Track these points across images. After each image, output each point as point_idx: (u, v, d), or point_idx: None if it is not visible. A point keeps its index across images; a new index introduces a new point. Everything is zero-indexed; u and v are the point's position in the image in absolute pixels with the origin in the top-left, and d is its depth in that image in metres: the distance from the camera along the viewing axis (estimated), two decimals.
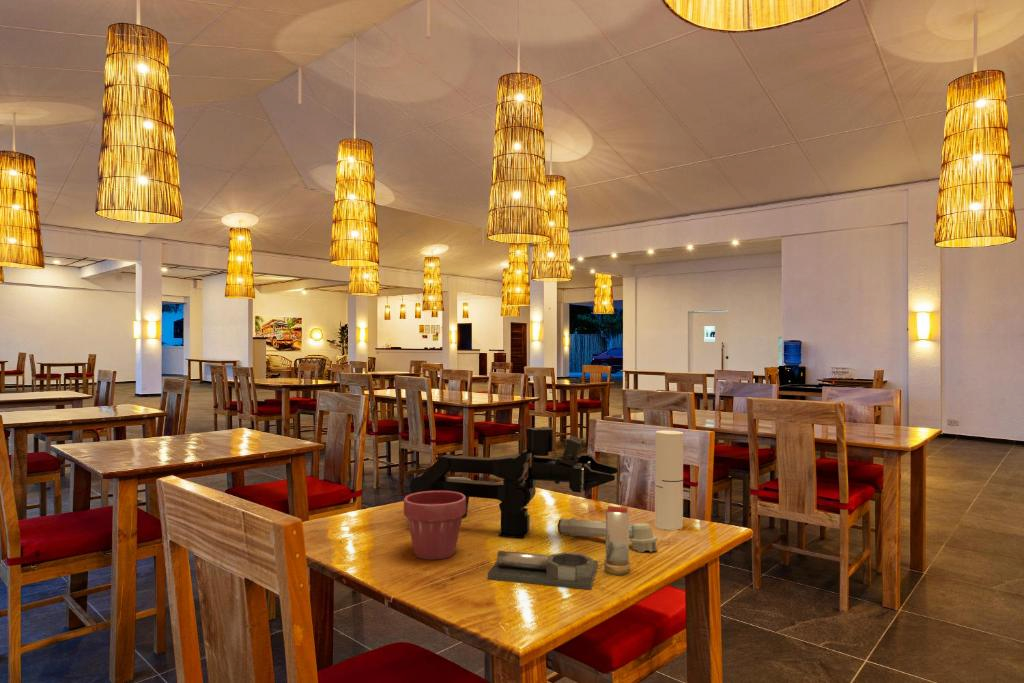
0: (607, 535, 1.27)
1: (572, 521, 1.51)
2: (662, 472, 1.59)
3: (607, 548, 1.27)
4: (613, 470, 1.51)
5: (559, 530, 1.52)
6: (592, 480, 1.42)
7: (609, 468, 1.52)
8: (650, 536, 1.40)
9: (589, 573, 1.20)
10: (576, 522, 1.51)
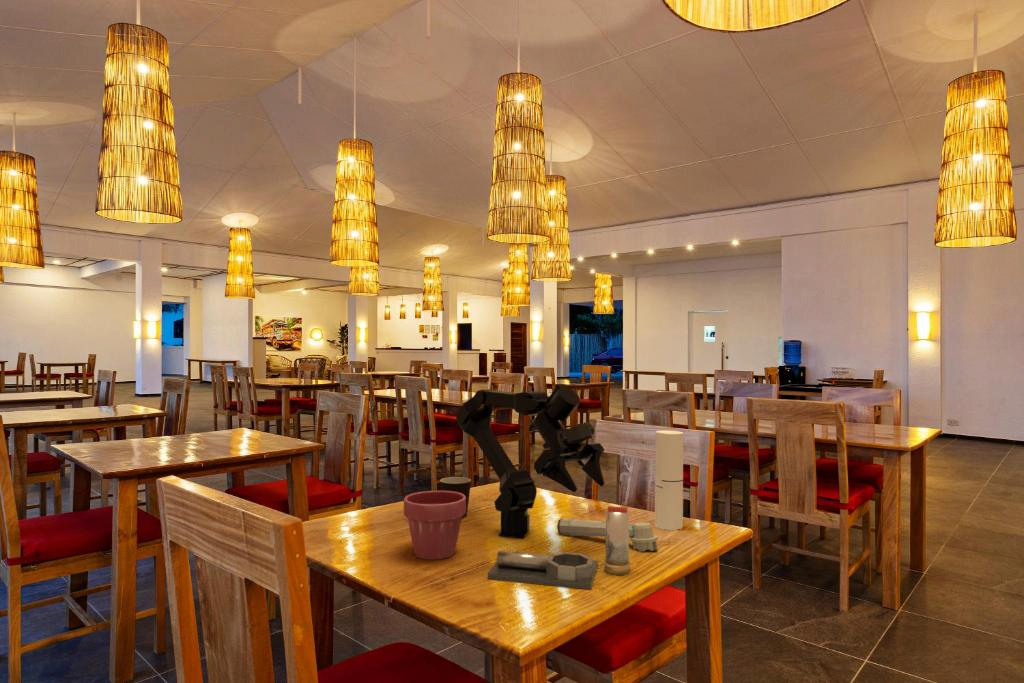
0: (607, 535, 1.27)
1: (572, 521, 1.51)
2: (662, 472, 1.59)
3: (607, 548, 1.27)
4: (599, 481, 1.38)
5: (559, 530, 1.52)
6: (558, 475, 1.34)
7: (598, 477, 1.38)
8: (651, 535, 1.41)
9: (589, 573, 1.20)
10: (576, 522, 1.51)
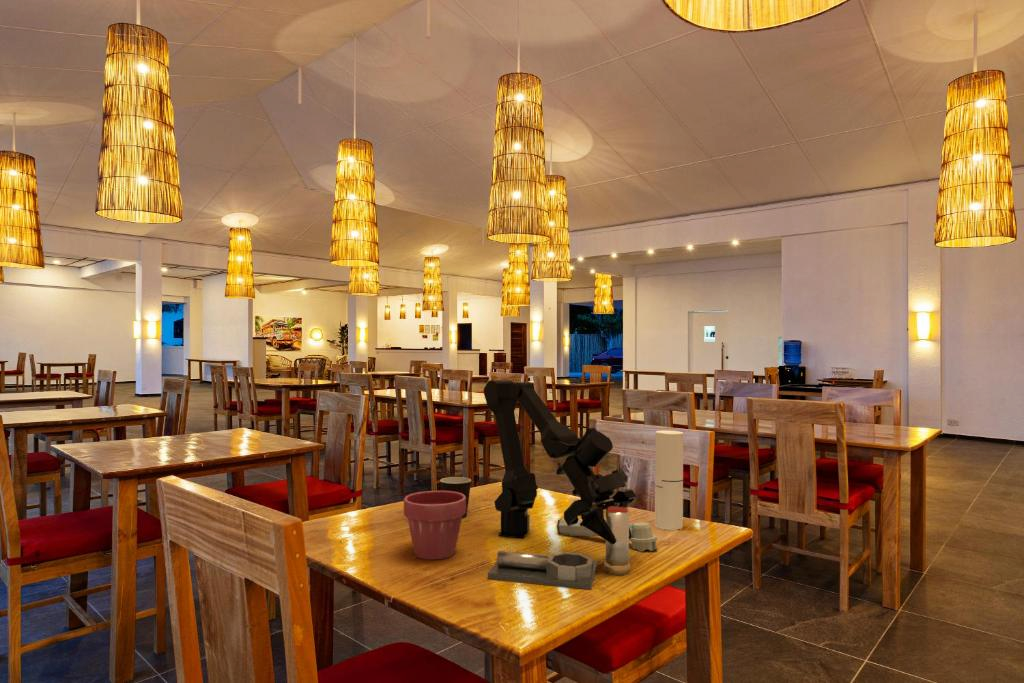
0: None
1: None
2: (662, 472, 1.59)
3: (607, 548, 1.27)
4: None
5: (558, 530, 1.52)
6: (595, 525, 1.27)
7: None
8: (650, 535, 1.41)
9: (589, 573, 1.20)
10: None
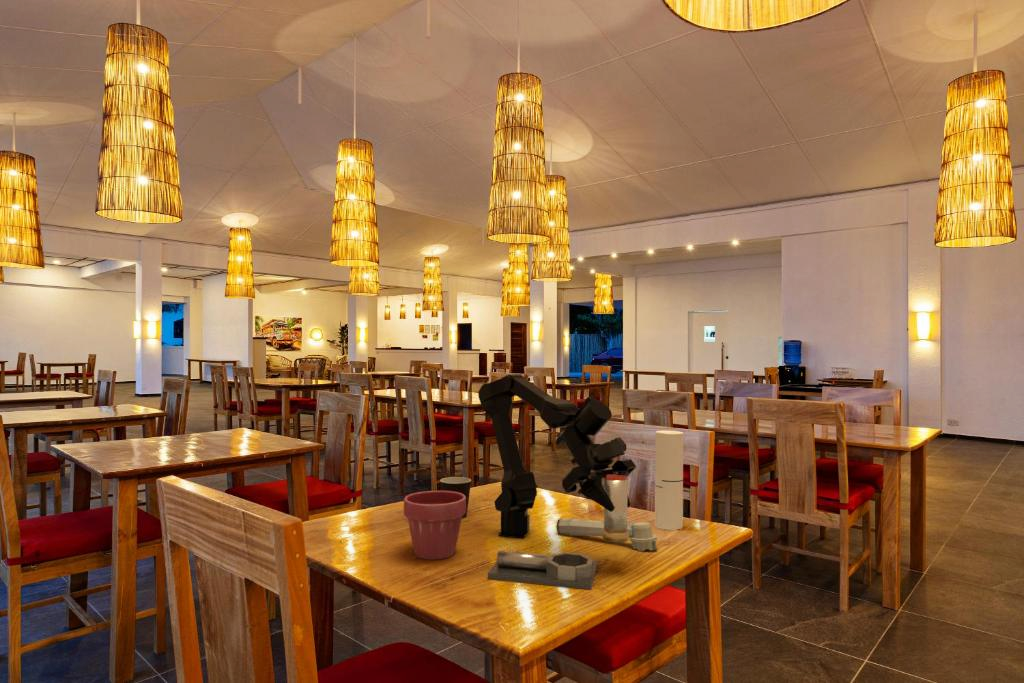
0: None
1: (571, 521, 1.52)
2: (662, 472, 1.59)
3: (605, 516, 1.27)
4: None
5: (558, 530, 1.52)
6: (594, 492, 1.27)
7: None
8: (650, 535, 1.41)
9: (589, 573, 1.20)
10: (575, 522, 1.51)
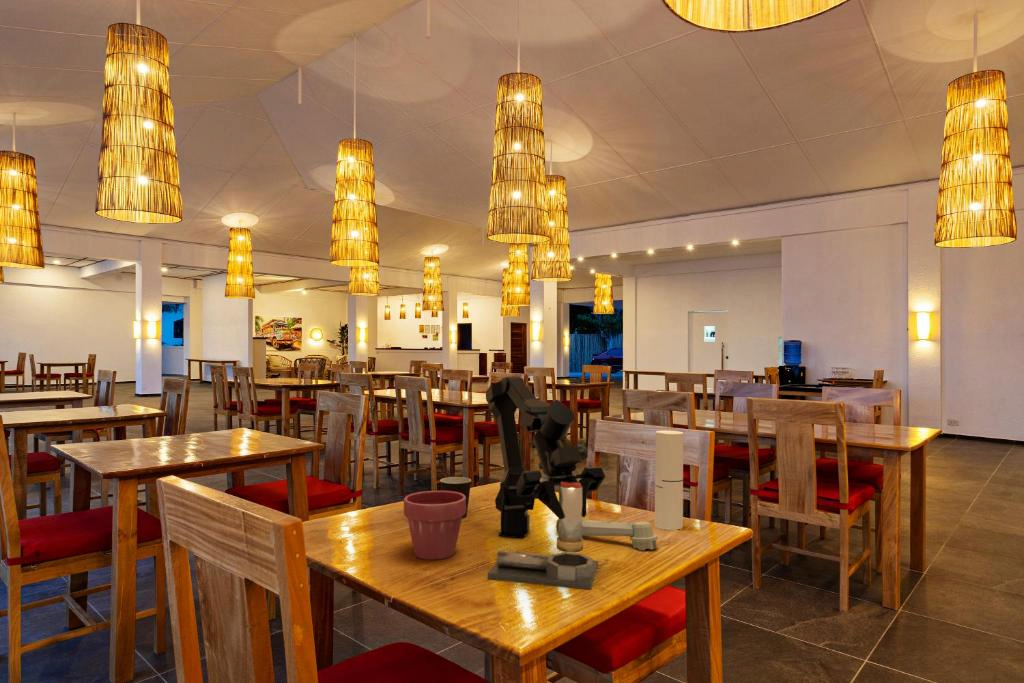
0: None
1: None
2: (662, 472, 1.59)
3: (558, 523, 1.23)
4: (582, 511, 1.24)
5: None
6: (547, 498, 1.25)
7: None
8: (651, 534, 1.42)
9: (589, 573, 1.20)
10: None
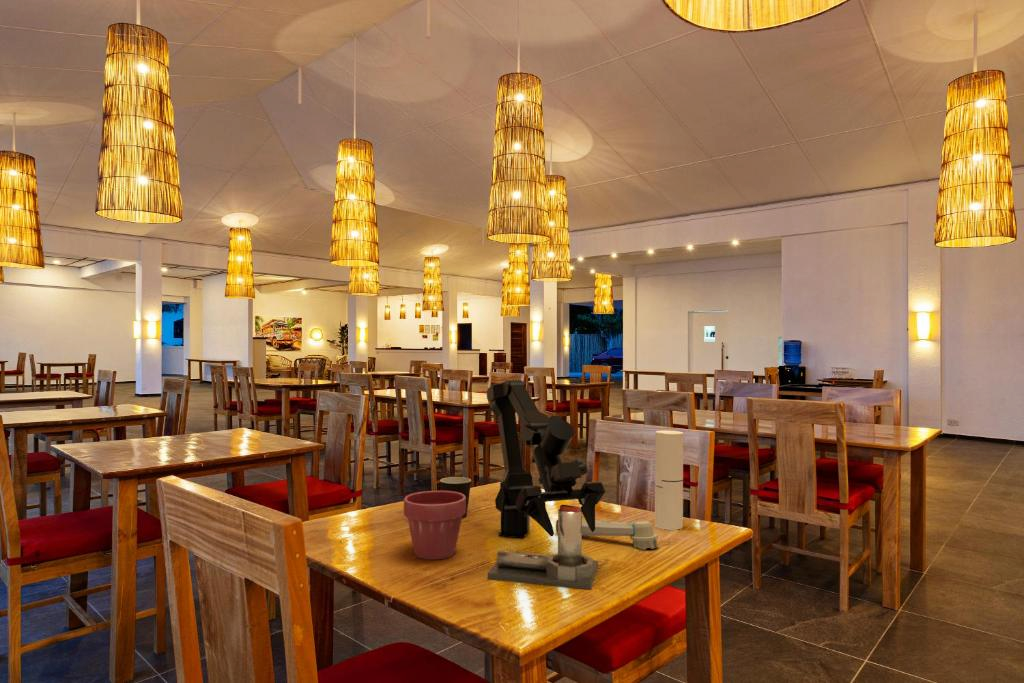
0: (558, 534, 1.23)
1: None
2: (662, 472, 1.59)
3: (558, 547, 1.23)
4: (591, 526, 1.24)
5: (557, 530, 1.52)
6: (538, 515, 1.24)
7: (590, 520, 1.25)
8: (651, 533, 1.42)
9: (589, 573, 1.20)
10: None
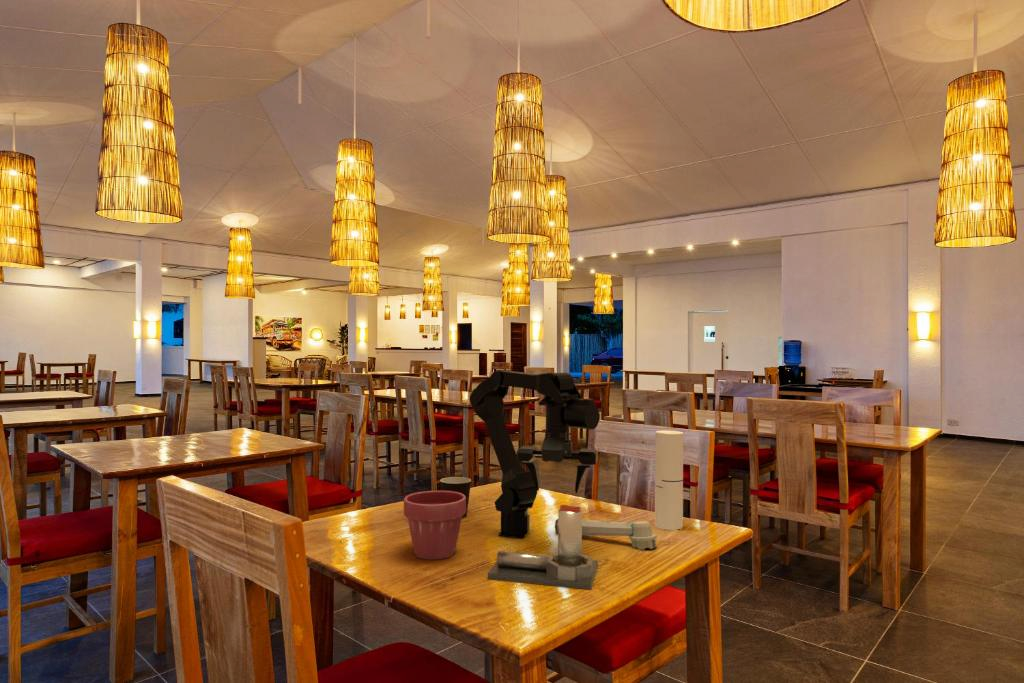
0: (558, 534, 1.23)
1: None
2: (662, 472, 1.59)
3: (558, 547, 1.23)
4: None
5: (556, 530, 1.52)
6: None
7: None
8: (650, 533, 1.42)
9: (589, 573, 1.20)
10: None
